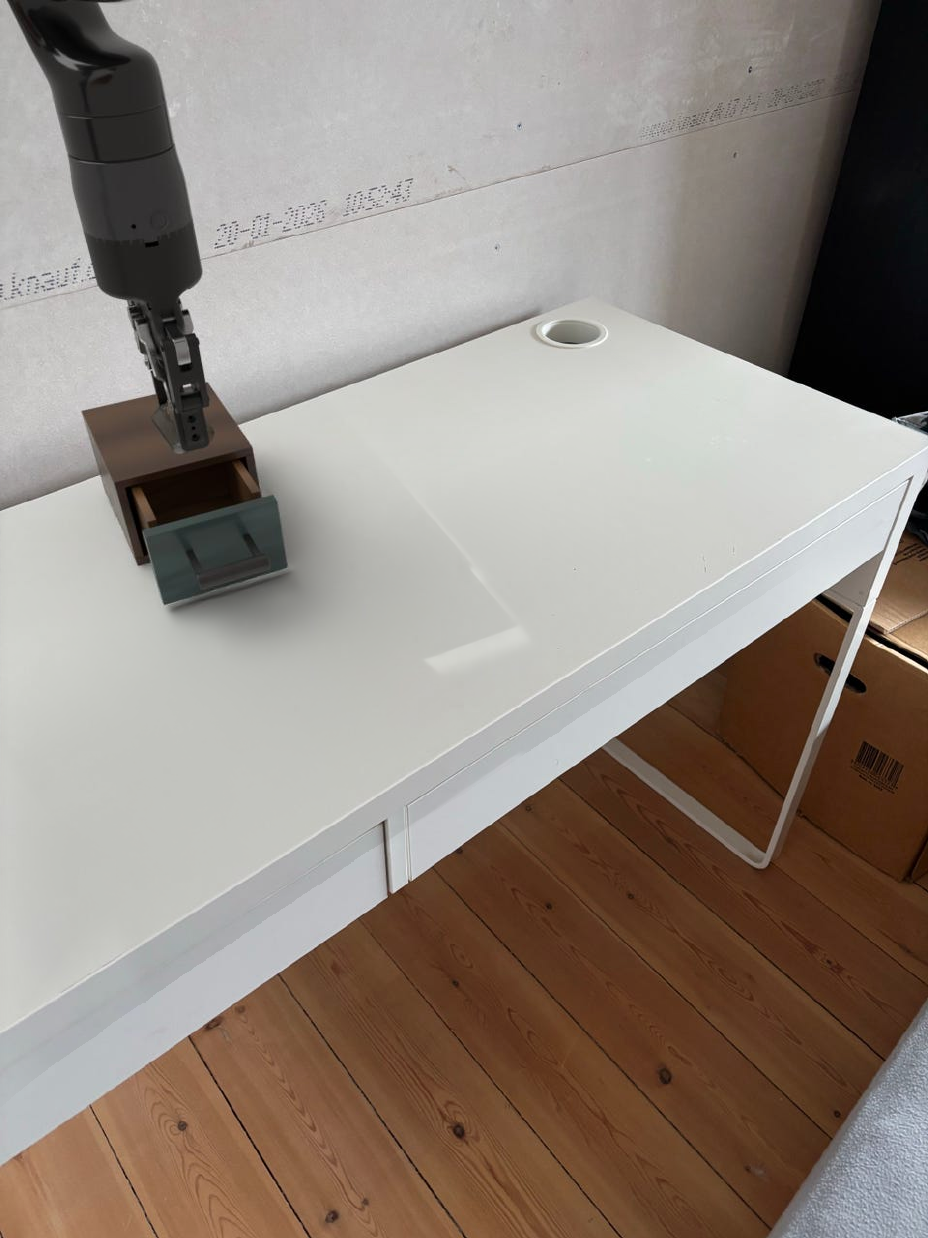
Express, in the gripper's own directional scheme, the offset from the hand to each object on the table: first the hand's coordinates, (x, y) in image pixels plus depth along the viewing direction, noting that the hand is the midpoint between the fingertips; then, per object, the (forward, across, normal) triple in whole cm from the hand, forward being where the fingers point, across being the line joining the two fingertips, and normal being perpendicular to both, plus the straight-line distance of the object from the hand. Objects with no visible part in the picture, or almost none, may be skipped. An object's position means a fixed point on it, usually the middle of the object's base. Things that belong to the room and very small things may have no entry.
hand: (184, 427), depth 79 cm
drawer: (+15, -2, 0) cm, 15 cm away
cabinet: (+16, -13, 0) cm, 20 cm away
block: (+1, 0, 0) cm, 1 cm away
